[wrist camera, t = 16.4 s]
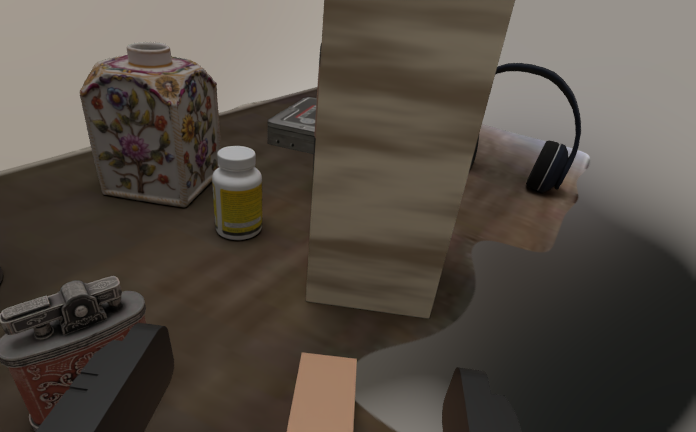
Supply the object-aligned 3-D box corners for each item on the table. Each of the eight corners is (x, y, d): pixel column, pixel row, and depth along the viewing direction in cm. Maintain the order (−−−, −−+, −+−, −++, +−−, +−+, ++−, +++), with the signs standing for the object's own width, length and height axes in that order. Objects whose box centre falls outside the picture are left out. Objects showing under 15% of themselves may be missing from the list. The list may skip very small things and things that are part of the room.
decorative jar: (224, 172, 63) (217, 44, 53) (187, 210, 53) (171, 61, 44) (148, 160, 64) (128, 32, 54) (98, 195, 54) (63, 46, 44)
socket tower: (429, 318, 40) (574, -219, 21) (305, 301, 41) (339, -242, 22) (423, 257, 49) (522, -165, 30) (321, 243, 49) (355, -182, 30)
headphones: (434, 167, 72) (459, 55, 63) (446, 155, 78) (470, 50, 68) (557, 203, 65) (606, 83, 55) (560, 187, 70) (606, 75, 61)
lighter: (150, 355, 34) (129, 254, 29) (165, 384, 32) (146, 282, 26) (28, 409, 29) (-23, 300, 24) (37, 448, 27) (-17, 338, 22)
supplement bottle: (271, 230, 51) (272, 155, 46) (233, 247, 47) (229, 167, 42) (244, 212, 54) (242, 139, 49) (206, 226, 50) (199, 150, 45)
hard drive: (415, 179, 68) (420, 154, 66) (265, 145, 74) (265, 121, 72) (431, 143, 84) (436, 121, 81) (305, 117, 89) (306, 96, 87)
